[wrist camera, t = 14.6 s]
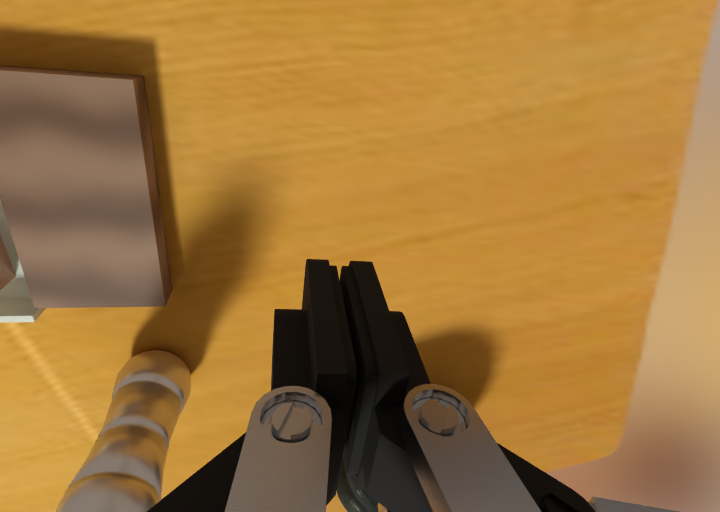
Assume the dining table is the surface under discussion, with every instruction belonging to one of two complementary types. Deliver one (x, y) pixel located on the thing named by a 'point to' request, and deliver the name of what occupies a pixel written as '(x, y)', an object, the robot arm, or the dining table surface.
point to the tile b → (5, 266)
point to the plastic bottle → (132, 438)
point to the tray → (15, 284)
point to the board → (82, 188)
